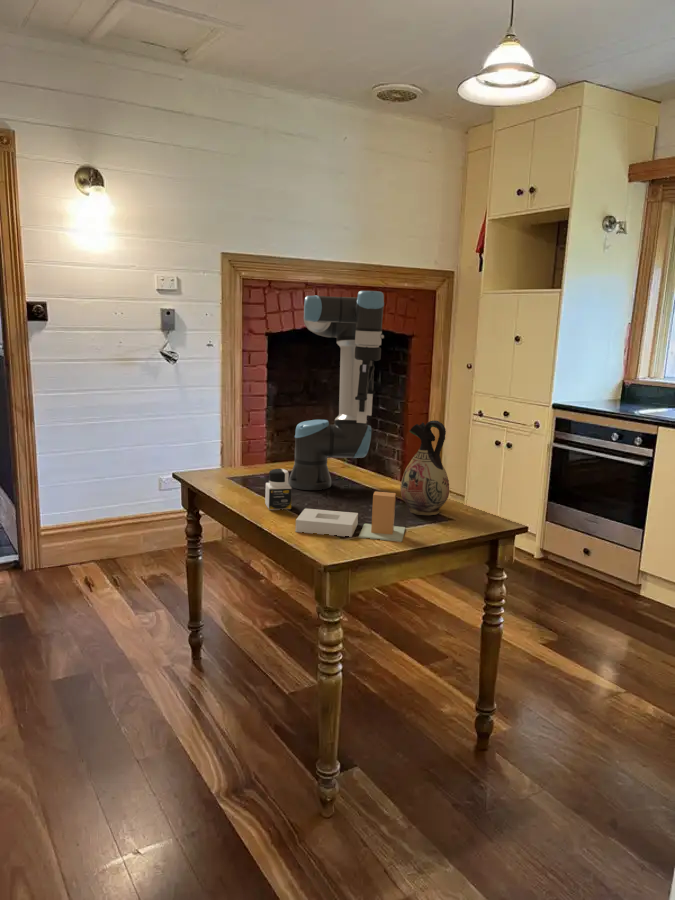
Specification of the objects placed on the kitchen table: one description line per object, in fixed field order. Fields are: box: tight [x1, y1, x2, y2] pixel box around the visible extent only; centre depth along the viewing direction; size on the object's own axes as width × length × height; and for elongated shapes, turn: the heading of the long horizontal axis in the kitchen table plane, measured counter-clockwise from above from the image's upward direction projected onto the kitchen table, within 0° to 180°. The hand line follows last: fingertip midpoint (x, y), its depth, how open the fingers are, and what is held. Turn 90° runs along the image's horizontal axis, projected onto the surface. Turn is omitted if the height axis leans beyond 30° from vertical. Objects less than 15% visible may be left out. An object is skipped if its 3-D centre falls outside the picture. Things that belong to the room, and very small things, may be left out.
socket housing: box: [295, 507, 359, 538], centre depth 197 cm, size 12×16×4 cm
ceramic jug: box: [400, 420, 450, 516], centre depth 214 cm, size 17×15×30 cm
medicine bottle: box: [264, 468, 293, 511], centre depth 215 cm, size 7×7×12 cm
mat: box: [358, 523, 406, 543], centre depth 195 cm, size 12×12×1 cm
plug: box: [371, 491, 397, 534], centre depth 194 cm, size 4×6×11 cm, turn 80°
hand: (364, 419), depth 201 cm, fingers open, 13 cm apart
